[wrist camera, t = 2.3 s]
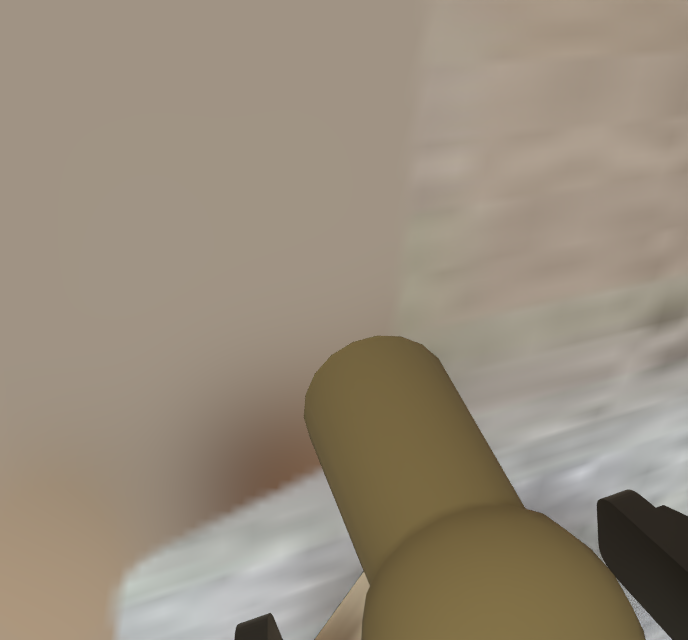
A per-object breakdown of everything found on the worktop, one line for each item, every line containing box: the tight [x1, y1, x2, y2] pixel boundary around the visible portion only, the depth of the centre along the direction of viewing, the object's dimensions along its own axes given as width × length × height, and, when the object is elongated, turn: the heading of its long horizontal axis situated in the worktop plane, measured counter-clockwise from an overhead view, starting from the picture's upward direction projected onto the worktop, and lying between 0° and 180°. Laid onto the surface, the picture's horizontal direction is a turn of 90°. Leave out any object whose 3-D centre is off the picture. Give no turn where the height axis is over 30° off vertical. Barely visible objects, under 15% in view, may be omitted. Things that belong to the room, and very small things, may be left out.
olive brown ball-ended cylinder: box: [304, 336, 646, 640], centre depth 12 cm, size 6×6×11 cm
